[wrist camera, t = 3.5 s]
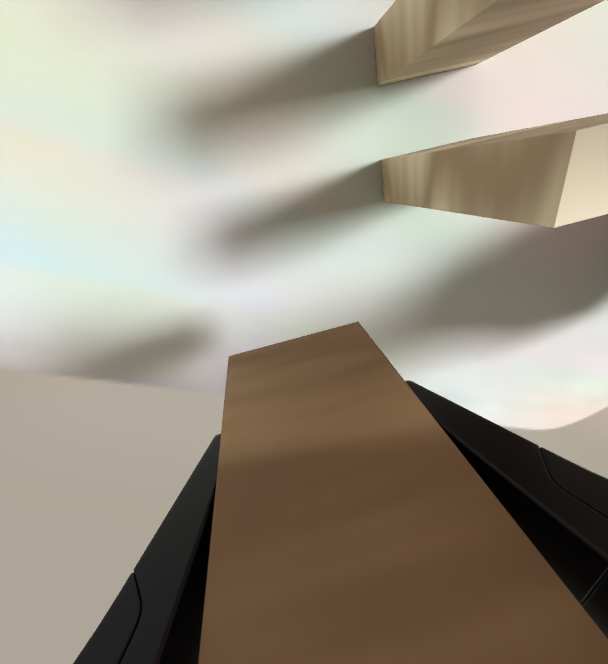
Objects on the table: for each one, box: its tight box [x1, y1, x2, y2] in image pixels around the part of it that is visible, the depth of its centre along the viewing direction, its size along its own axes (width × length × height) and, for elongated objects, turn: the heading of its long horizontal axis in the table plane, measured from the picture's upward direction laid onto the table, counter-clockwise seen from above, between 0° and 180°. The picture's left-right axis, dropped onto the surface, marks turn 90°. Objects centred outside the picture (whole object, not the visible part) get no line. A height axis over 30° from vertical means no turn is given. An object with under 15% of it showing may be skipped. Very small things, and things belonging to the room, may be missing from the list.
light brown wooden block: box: [382, 114, 608, 228], centre depth 11 cm, size 2×5×10 cm, turn 101°
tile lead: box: [198, 322, 608, 664], centre depth 7 cm, size 2×5×10 cm, turn 101°
